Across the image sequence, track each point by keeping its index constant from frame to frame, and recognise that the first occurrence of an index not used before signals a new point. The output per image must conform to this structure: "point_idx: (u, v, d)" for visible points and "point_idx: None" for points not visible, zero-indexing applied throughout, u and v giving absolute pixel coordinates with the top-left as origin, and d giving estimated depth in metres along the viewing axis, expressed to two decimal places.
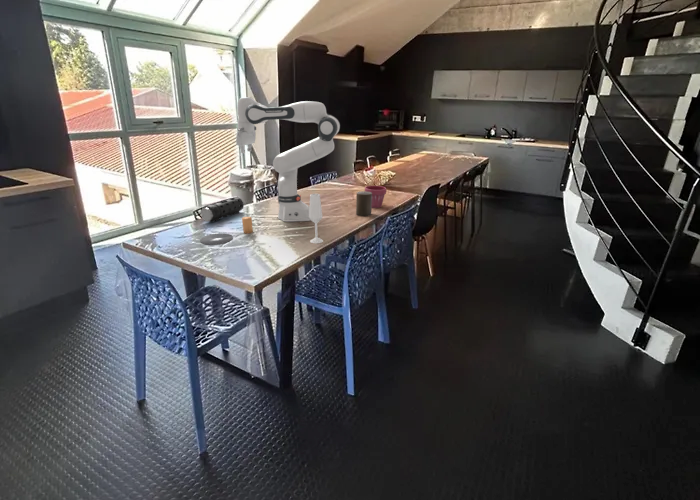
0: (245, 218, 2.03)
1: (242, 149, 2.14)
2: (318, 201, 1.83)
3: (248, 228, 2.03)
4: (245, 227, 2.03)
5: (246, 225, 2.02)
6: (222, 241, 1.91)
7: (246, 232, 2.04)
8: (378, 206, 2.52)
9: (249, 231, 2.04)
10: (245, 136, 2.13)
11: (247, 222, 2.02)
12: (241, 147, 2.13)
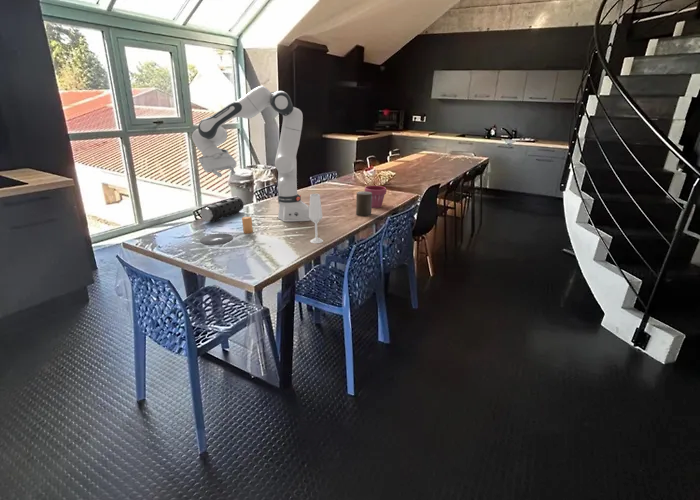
0: (245, 218, 2.03)
1: (216, 173, 2.02)
2: (318, 201, 1.83)
3: (248, 228, 2.03)
4: (245, 227, 2.03)
5: (246, 225, 2.02)
6: (222, 241, 1.91)
7: (246, 232, 2.04)
8: (378, 206, 2.52)
9: (249, 231, 2.04)
10: (211, 160, 2.02)
11: (247, 222, 2.02)
12: (214, 172, 2.01)
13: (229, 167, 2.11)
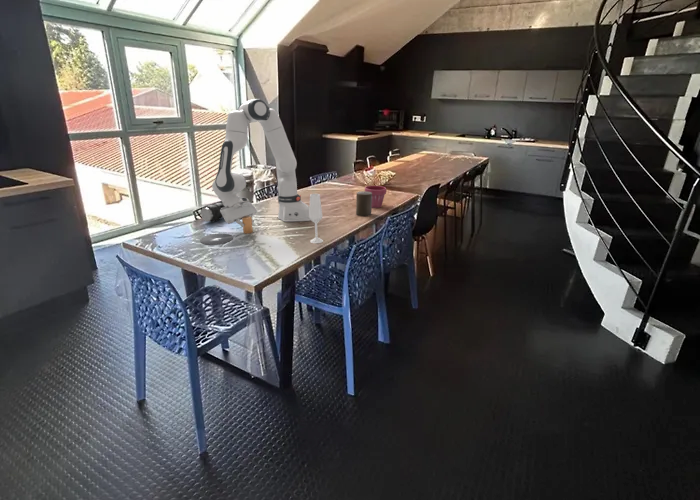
0: (245, 218, 2.03)
1: (240, 223, 2.01)
2: (318, 201, 1.83)
3: (248, 228, 2.03)
4: (245, 227, 2.03)
5: (246, 225, 2.02)
6: (222, 241, 1.91)
7: (246, 232, 2.04)
8: (378, 206, 2.52)
9: (249, 231, 2.04)
10: (232, 211, 2.01)
11: (247, 222, 2.02)
12: (237, 222, 2.01)
13: (247, 216, 2.08)
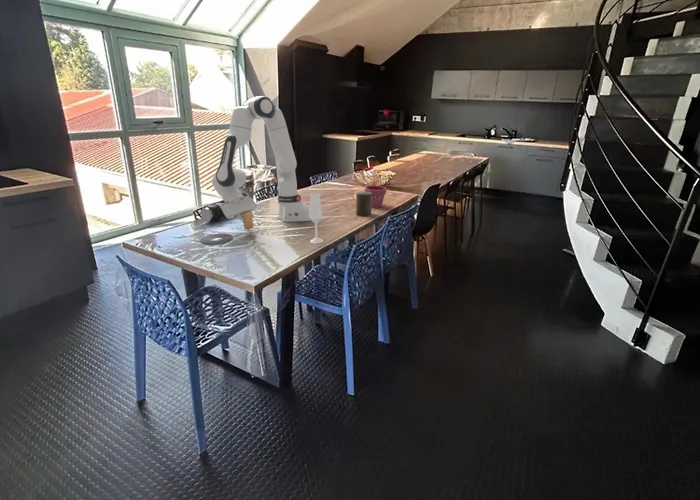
0: (245, 213, 2.02)
1: (240, 218, 2.00)
2: (318, 201, 1.83)
3: (248, 223, 2.02)
4: (245, 222, 2.02)
5: (246, 220, 2.02)
6: (222, 241, 1.91)
7: (246, 227, 2.03)
8: (378, 206, 2.52)
9: (249, 226, 2.03)
10: (232, 206, 2.00)
11: (247, 217, 2.01)
12: (238, 217, 2.00)
13: (248, 211, 2.07)
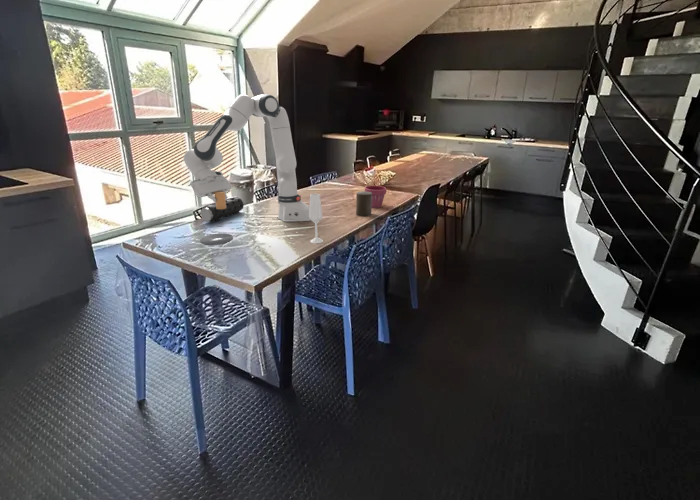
0: (218, 192, 1.89)
1: (211, 197, 1.88)
2: (318, 201, 1.83)
3: (220, 203, 1.90)
4: (217, 202, 1.89)
5: (218, 200, 1.89)
6: (222, 241, 1.91)
7: (218, 208, 1.90)
8: (378, 206, 2.52)
9: (222, 207, 1.91)
10: (204, 184, 1.87)
11: (219, 196, 1.88)
12: (209, 196, 1.88)
13: (221, 191, 1.94)
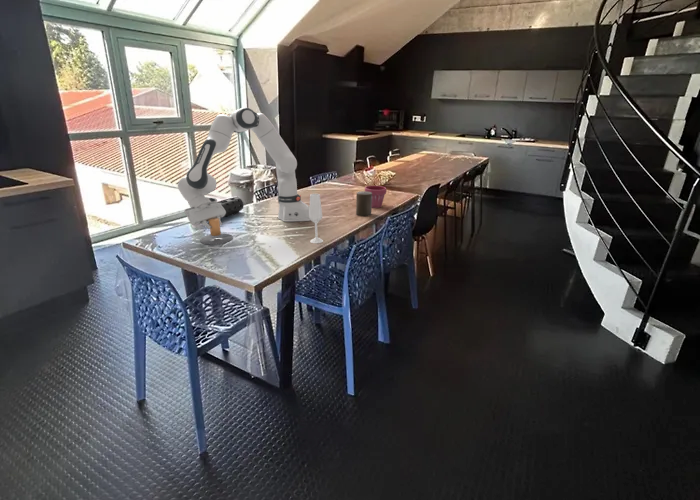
0: (212, 219, 1.91)
1: (206, 225, 1.90)
2: (318, 201, 1.83)
3: (215, 230, 1.92)
4: (212, 229, 1.91)
5: (212, 227, 1.91)
6: (222, 241, 1.91)
7: (213, 234, 1.92)
8: (378, 206, 2.52)
9: (216, 233, 1.92)
10: (198, 212, 1.89)
11: (213, 223, 1.90)
12: (203, 224, 1.89)
13: (215, 217, 1.96)
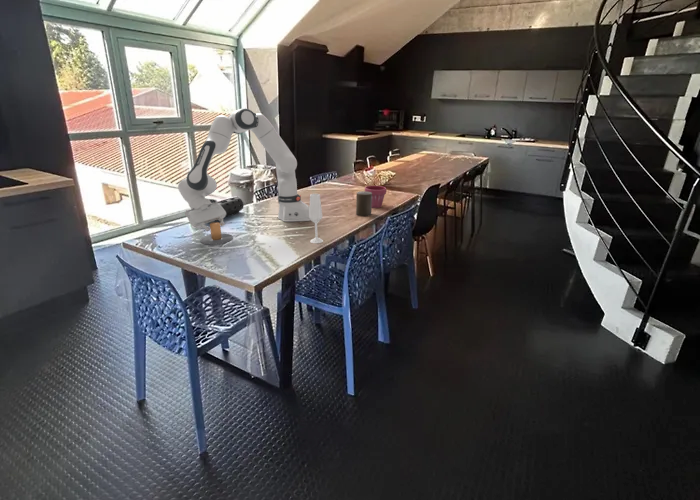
0: (213, 224, 1.92)
1: (204, 227, 1.89)
2: (318, 201, 1.83)
3: (216, 234, 1.92)
4: (213, 233, 1.92)
5: (213, 231, 1.92)
6: (222, 241, 1.91)
7: (214, 238, 1.93)
8: (378, 206, 2.52)
9: (217, 237, 1.93)
10: (199, 213, 1.89)
11: (214, 227, 1.91)
12: (201, 226, 1.88)
13: (218, 218, 1.98)
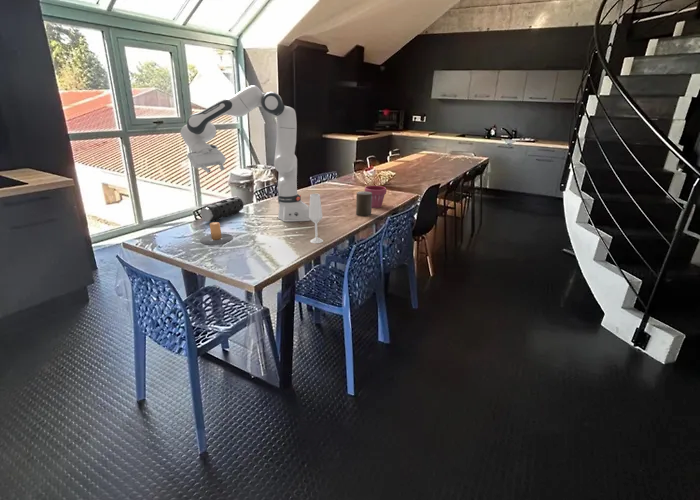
0: (213, 224, 1.92)
1: (205, 168, 2.01)
2: (318, 201, 1.83)
3: (216, 234, 1.92)
4: (213, 233, 1.92)
5: (213, 231, 1.92)
6: (222, 241, 1.91)
7: (214, 238, 1.93)
8: (378, 206, 2.52)
9: (217, 237, 1.93)
10: (200, 156, 2.02)
11: (214, 227, 1.91)
12: (202, 167, 2.01)
13: (218, 163, 2.11)
